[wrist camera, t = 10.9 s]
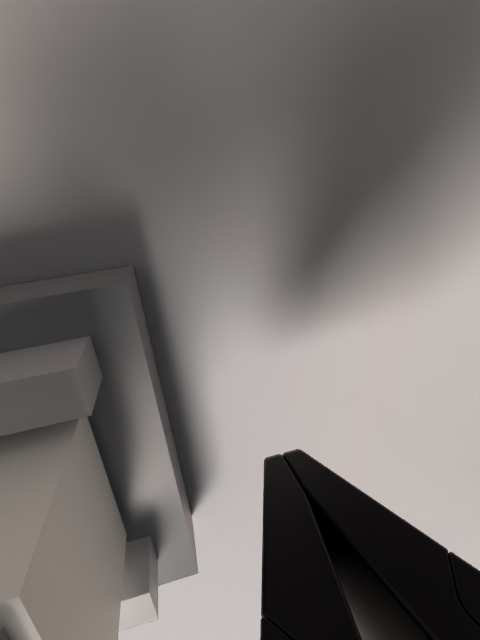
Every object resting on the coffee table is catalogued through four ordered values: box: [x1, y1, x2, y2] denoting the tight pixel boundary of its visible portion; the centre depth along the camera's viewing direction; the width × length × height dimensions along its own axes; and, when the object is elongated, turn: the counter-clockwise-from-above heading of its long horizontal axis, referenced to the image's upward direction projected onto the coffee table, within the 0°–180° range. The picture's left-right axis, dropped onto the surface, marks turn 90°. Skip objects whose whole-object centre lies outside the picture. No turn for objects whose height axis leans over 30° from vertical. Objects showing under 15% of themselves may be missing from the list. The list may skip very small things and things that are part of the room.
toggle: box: [0, 417, 127, 640], centre depth 6 cm, size 3×4×4 cm
